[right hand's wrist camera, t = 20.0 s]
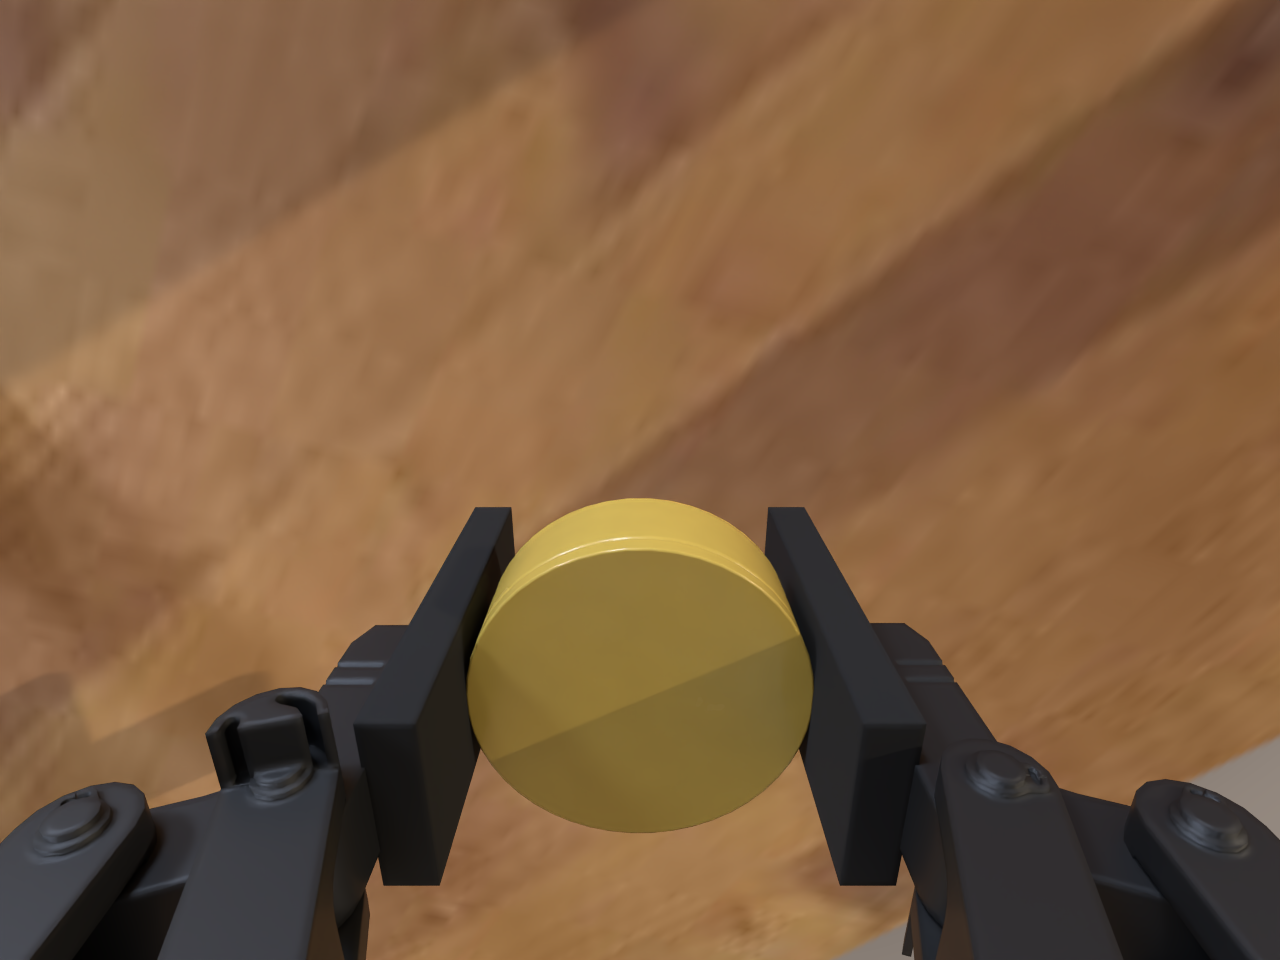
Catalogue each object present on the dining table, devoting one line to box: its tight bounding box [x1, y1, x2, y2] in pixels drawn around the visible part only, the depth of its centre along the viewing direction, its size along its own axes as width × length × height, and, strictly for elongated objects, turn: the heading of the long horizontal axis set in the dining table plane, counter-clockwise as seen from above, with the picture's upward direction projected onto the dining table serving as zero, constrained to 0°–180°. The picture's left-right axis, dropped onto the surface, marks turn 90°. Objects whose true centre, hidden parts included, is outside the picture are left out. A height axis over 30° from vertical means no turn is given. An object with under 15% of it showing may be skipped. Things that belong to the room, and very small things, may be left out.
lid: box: [466, 498, 814, 833], centre depth 11 cm, size 5×5×2 cm
